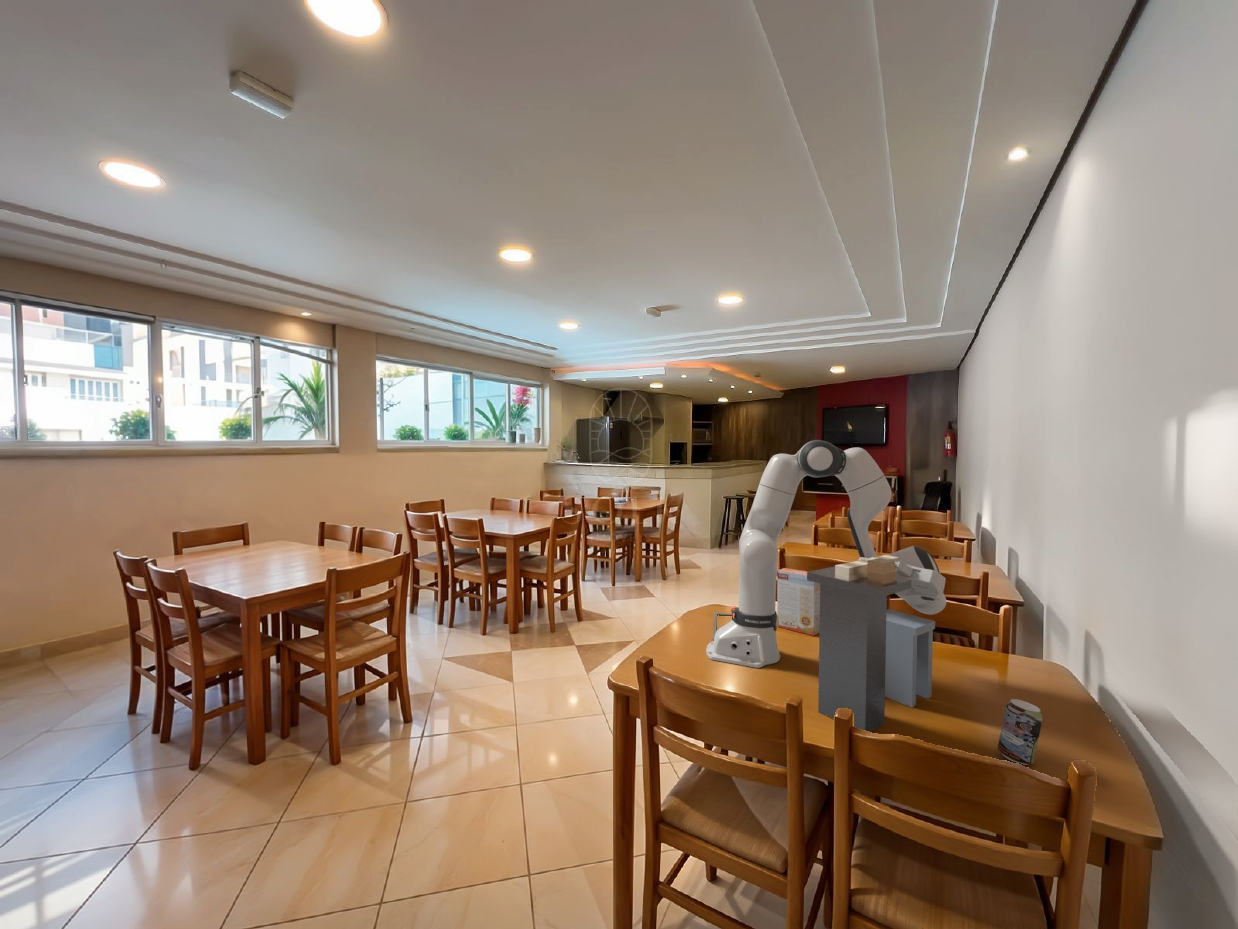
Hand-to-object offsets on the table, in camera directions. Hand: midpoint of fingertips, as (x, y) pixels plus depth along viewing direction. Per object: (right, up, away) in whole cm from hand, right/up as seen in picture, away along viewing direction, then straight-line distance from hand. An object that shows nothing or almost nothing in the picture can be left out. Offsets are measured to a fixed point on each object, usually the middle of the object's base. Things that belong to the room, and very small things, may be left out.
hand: (884, 561), depth 130 cm
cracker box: (-3, -35, +54) cm, 64 cm away
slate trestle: (+7, -36, +6) cm, 37 cm away
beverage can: (+16, -37, -23) cm, 46 cm away
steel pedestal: (-10, -36, -6) cm, 38 cm away
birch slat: (-6, -2, -4) cm, 7 cm away
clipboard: (-23, -35, +56) cm, 70 cm away
